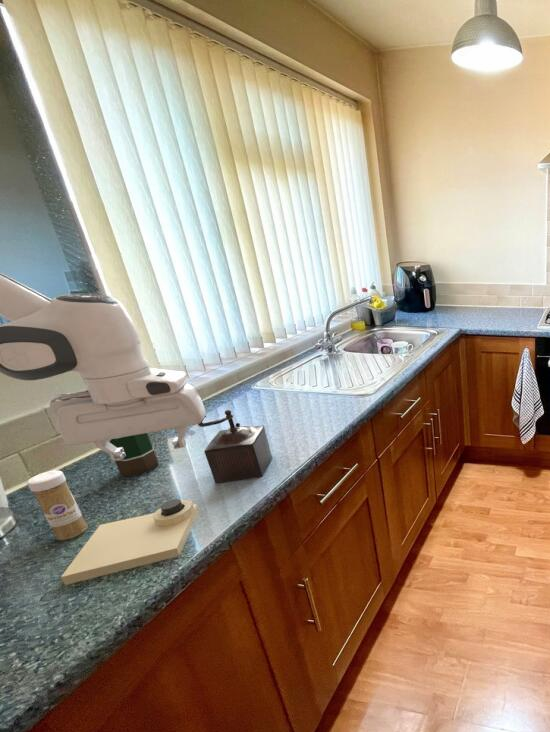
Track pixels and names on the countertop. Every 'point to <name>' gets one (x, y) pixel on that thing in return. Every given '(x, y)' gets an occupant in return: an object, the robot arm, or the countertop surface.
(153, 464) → the beer bottle
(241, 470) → the manual coffee grinder
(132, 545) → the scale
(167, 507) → the button
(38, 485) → the sprinkles bottle
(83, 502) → the countertop surface
